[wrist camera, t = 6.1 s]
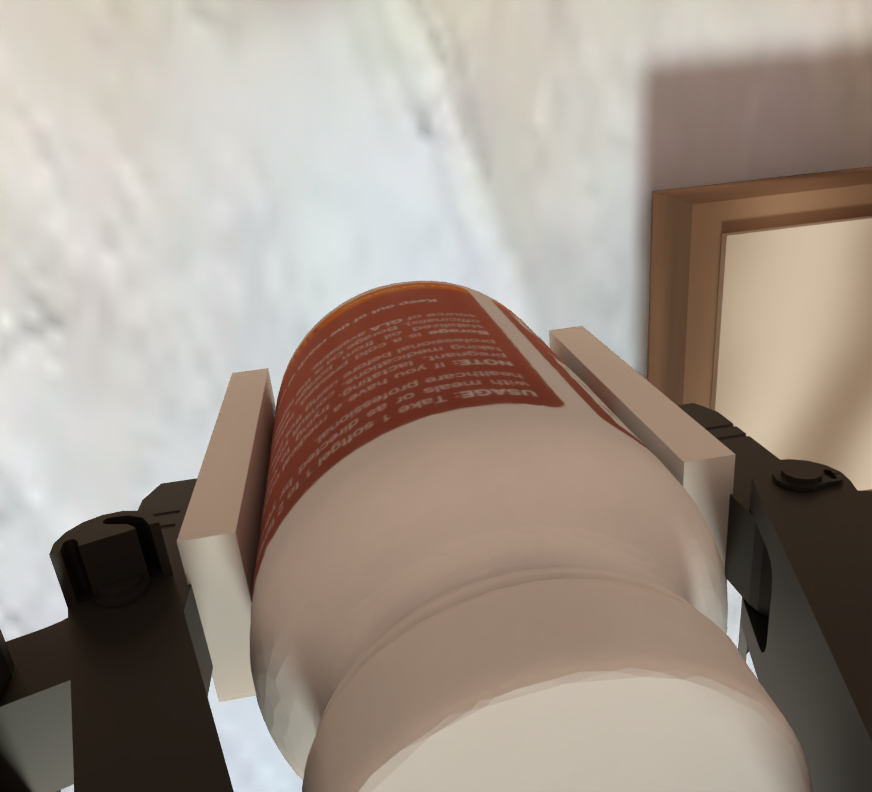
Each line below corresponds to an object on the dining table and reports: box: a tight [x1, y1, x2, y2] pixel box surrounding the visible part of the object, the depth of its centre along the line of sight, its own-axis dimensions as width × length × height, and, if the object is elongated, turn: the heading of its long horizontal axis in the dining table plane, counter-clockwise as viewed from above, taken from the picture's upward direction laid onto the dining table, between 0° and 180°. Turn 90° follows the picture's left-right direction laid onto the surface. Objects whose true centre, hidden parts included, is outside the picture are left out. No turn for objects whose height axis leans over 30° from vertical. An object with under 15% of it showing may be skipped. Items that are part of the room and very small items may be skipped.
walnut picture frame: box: [648, 167, 872, 491], centre depth 26 cm, size 12×12×3 cm
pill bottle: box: [250, 281, 813, 792], centre depth 12 cm, size 6×6×11 cm
